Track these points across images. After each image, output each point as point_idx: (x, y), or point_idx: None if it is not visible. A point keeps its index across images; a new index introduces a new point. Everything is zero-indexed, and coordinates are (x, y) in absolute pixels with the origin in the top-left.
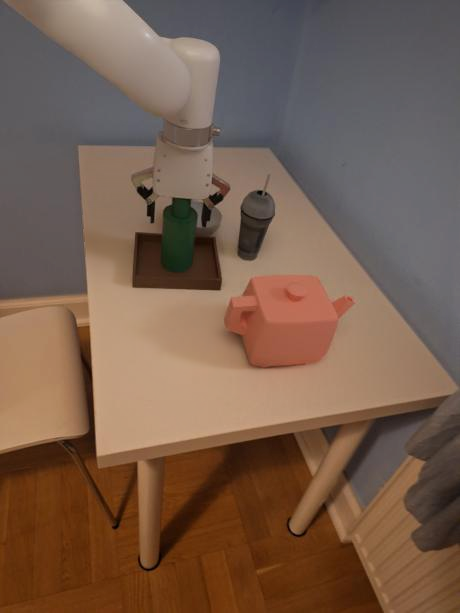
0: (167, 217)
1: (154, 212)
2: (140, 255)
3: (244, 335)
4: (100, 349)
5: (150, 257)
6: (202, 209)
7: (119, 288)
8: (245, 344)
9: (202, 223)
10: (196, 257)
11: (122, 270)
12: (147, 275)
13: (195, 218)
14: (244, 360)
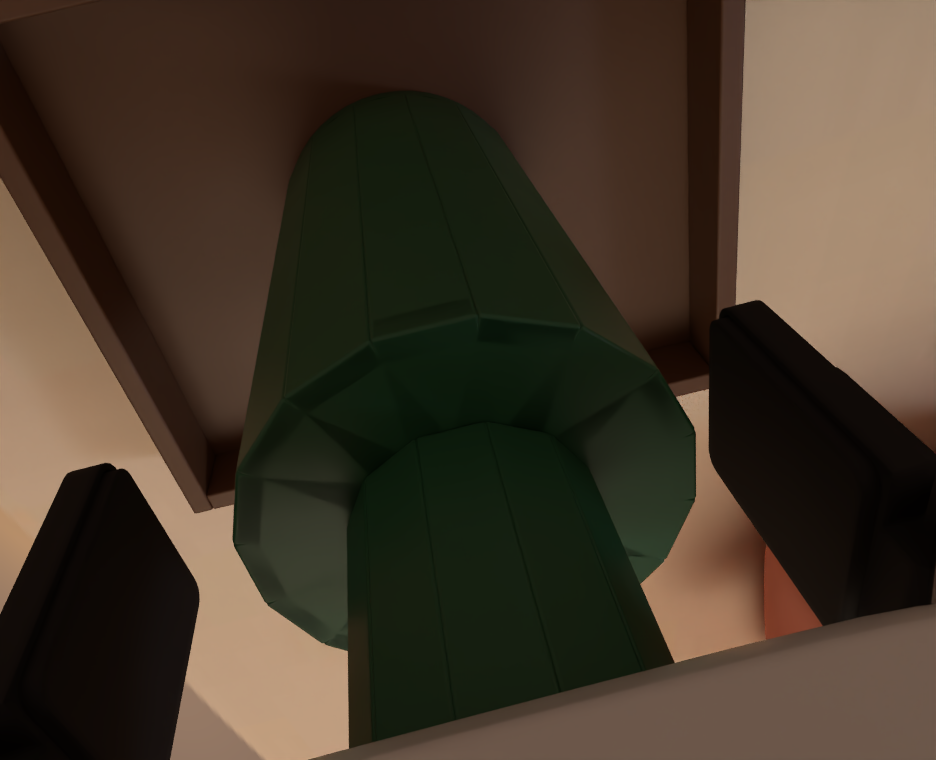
0: (338, 635)
1: (173, 722)
2: (117, 211)
3: None
4: (240, 720)
5: (201, 213)
6: (784, 413)
7: (143, 478)
8: None
9: (726, 474)
10: (549, 102)
11: (74, 351)
12: None
13: (665, 542)
14: (746, 624)
